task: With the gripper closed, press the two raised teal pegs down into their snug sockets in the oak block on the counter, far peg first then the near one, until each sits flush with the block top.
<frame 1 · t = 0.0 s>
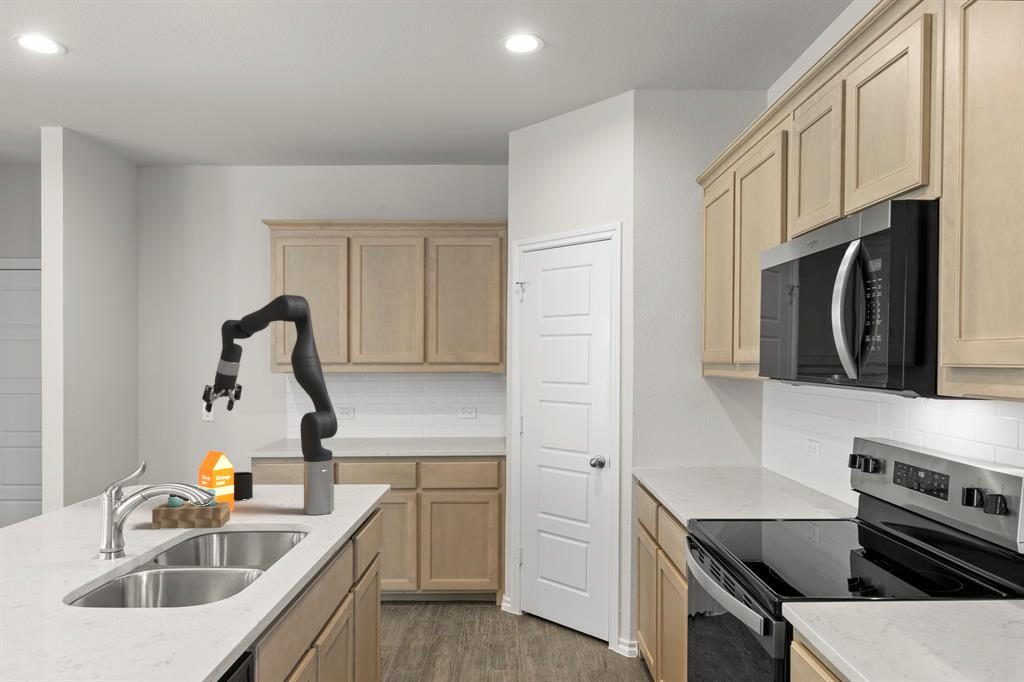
hand: (218, 410, 266), 31 cm above the counter, tool tilted 20°, fingers open, 8 cm apart
oak block: (192, 524, 217), on the counter
peg near: (208, 499, 218), point 8 cm above the counter, slide at 4.5 cm
peg far: (175, 500, 217), point 8 cm above the counter, slide at 4.5 cm
orange juice: (216, 511, 237), on the counter
black cylinder: (241, 498, 258), on the counter
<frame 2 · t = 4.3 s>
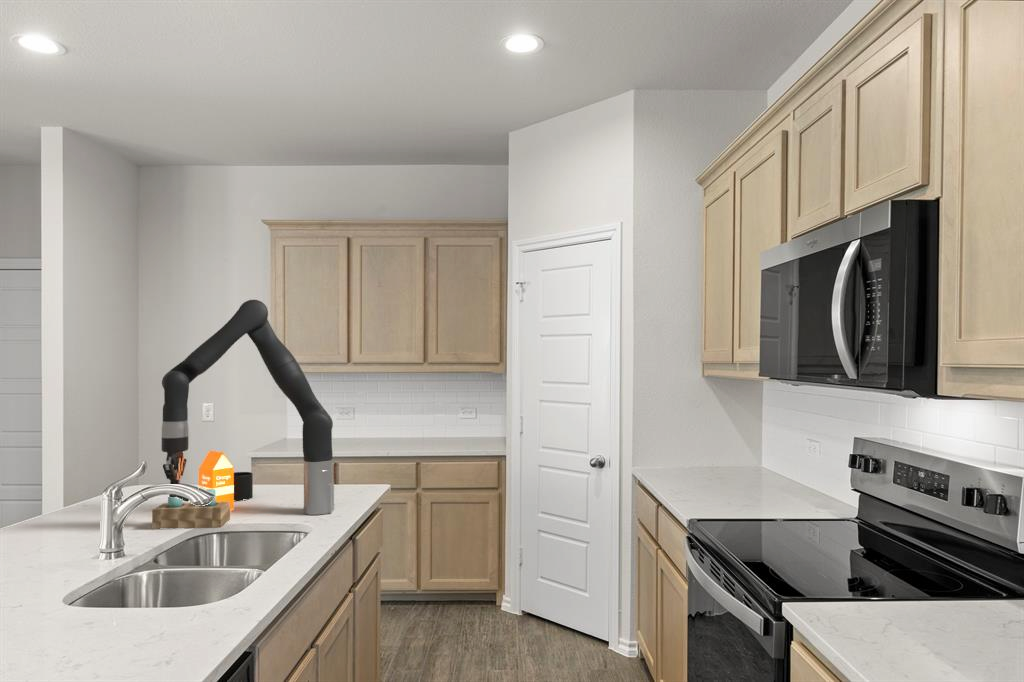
hand: (174, 491, 217), 10 cm above the counter, tool pointing down, fingers closed
peg far: (175, 501, 217), point 7 cm above the counter, slide at 4.3 cm, touching gripper
everything else where it was.
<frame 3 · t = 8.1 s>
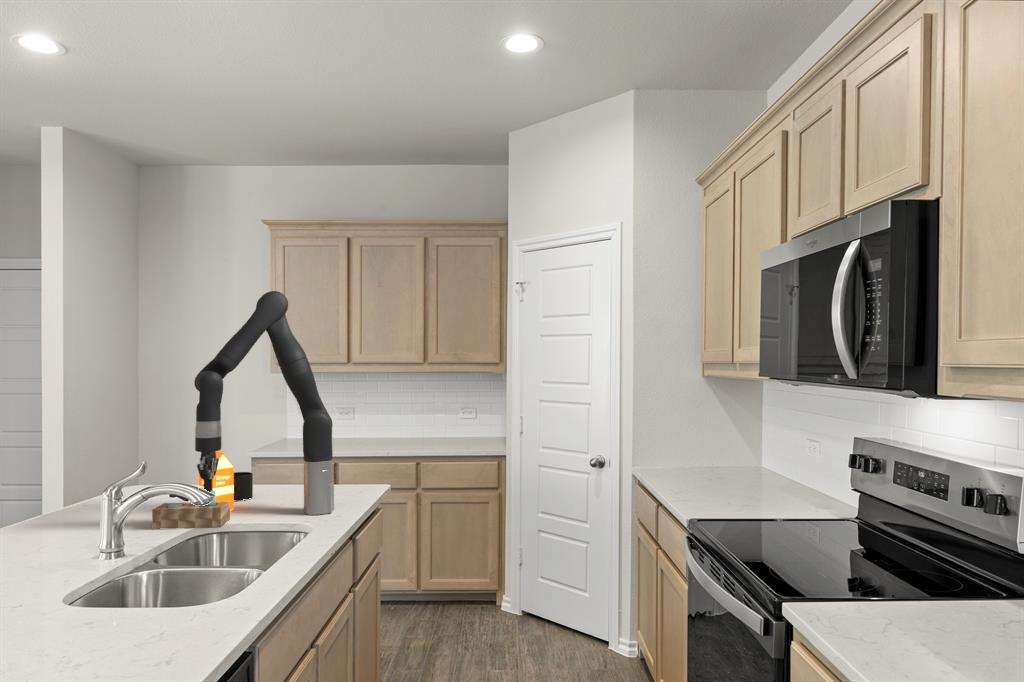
hand: (208, 491, 218), 10 cm above the counter, tool pointing down, fingers closed
peg near: (208, 500, 218), point 7 cm above the counter, slide at 4.1 cm
peg far: (175, 514, 217), point 3 cm above the counter, slide at 0.3 cm
everything else where it was.
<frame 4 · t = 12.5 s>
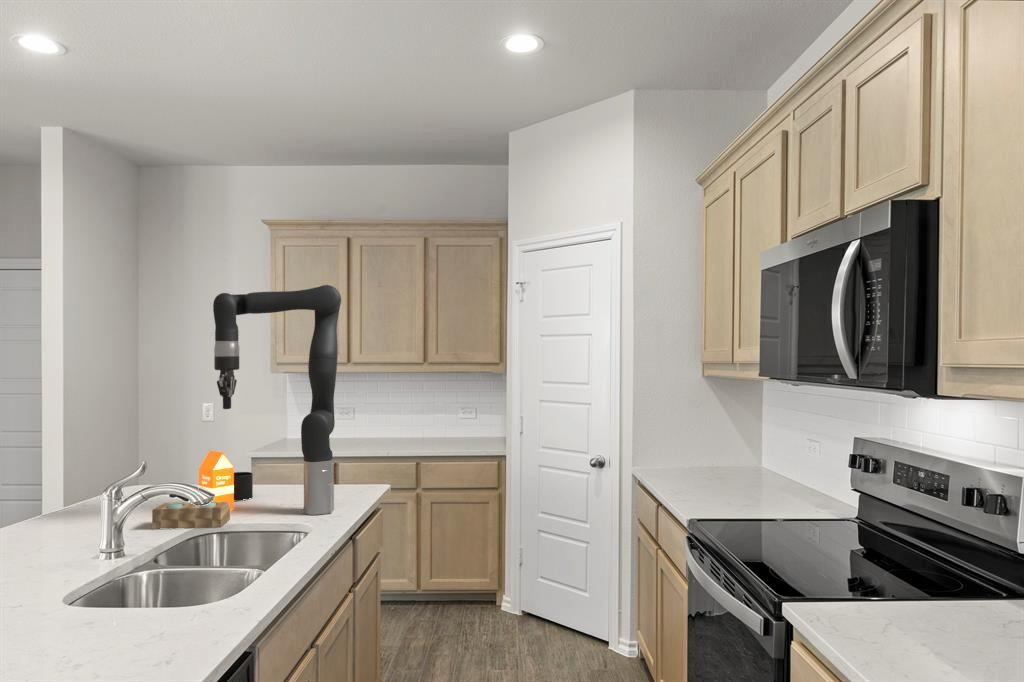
hand: (227, 408, 227), 35 cm above the counter, tool pointing down, fingers closed
peg near: (208, 513, 218), point 3 cm above the counter, slide at 0.2 cm
everything else where it was.
at the end: peg far slide at 0.3 cm; peg near slide at 0.2 cm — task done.
